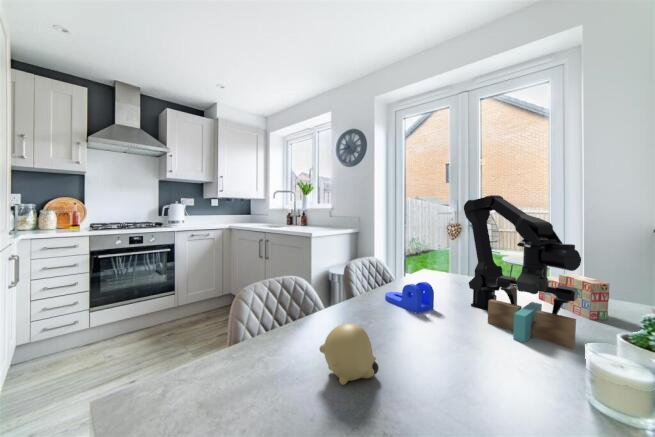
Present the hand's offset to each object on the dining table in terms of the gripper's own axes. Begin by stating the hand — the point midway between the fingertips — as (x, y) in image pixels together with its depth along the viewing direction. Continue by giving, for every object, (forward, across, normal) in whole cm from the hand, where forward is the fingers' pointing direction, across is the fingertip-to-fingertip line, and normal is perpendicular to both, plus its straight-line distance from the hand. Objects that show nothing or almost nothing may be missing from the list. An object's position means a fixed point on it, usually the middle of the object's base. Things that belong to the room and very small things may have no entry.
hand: (533, 316), depth 82 cm
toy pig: (+4, -17, -59) cm, 62 cm away
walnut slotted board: (+4, 0, -5) cm, 6 cm away
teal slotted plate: (+4, 0, -5) cm, 6 cm away
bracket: (+4, -36, -11) cm, 38 cm away
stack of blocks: (+4, +3, +33) cm, 33 cm away
